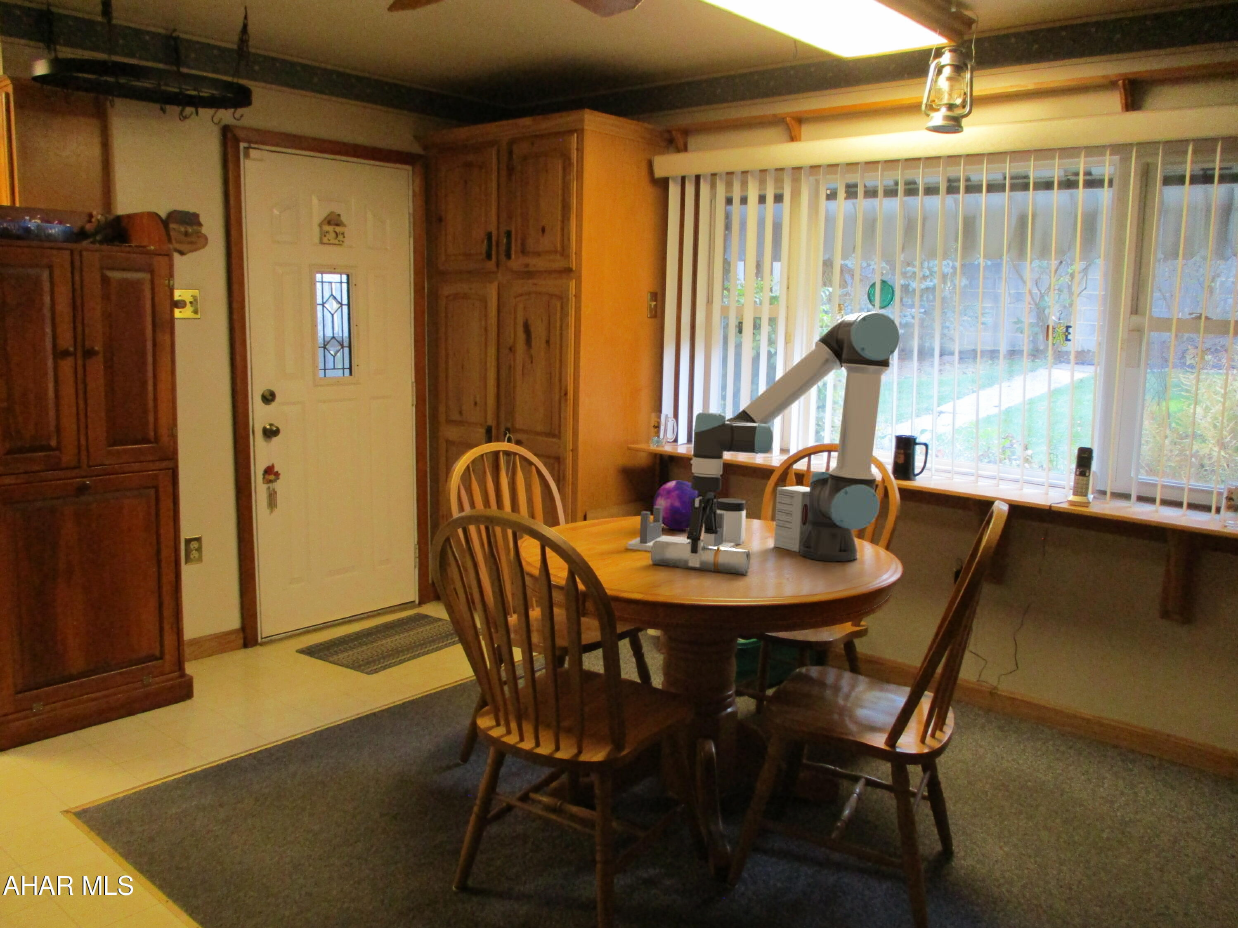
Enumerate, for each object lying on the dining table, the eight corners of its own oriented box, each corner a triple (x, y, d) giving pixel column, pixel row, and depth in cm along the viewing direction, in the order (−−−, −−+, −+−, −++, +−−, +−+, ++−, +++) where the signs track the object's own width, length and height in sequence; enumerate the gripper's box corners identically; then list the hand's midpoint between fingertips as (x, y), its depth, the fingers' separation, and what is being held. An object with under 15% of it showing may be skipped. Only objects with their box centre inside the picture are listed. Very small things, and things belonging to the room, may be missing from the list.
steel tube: (751, 553, 237) (746, 547, 232) (747, 577, 236) (742, 571, 230) (660, 543, 247) (653, 537, 241) (656, 566, 245) (649, 560, 239)
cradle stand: (734, 548, 265) (736, 512, 264) (719, 558, 251) (721, 521, 250) (646, 538, 275) (647, 504, 273) (627, 548, 261) (628, 512, 260)
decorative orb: (646, 525, 295) (647, 477, 294) (691, 524, 300) (693, 476, 298) (662, 535, 281) (664, 484, 279) (710, 533, 286) (712, 483, 284)
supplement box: (798, 552, 263) (801, 491, 260) (772, 546, 270) (775, 487, 268) (820, 548, 269) (824, 489, 267) (795, 542, 276) (798, 484, 274)
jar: (750, 543, 273) (752, 501, 272) (730, 546, 268) (732, 503, 267) (728, 537, 280) (729, 497, 279) (708, 540, 275) (709, 499, 274)
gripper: (705, 470, 251) (700, 553, 253) (677, 477, 230) (672, 568, 232) (733, 472, 248) (727, 557, 250) (707, 479, 227) (701, 572, 229)
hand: (700, 562), depth 241 cm, fingers open, 10 cm apart
